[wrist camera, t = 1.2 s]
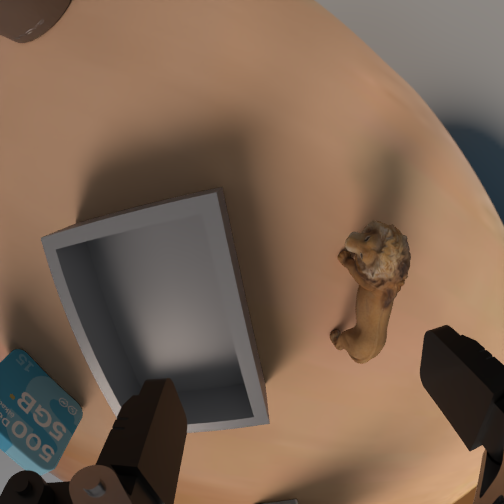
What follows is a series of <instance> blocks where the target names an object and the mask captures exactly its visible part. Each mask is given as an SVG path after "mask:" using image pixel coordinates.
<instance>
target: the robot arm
mask: <svg viewBox="0 0 504 504" xmlns="http://www.w3.org/2000/svg"><path fill="white" fill-rule="evenodd" d="M69 3H70V0H0V35H2V36H4V37H6V38H8V39H11V40H13V41H15V42H18V43H26V42H29V41H32V40H34V39H36V38H38V37H39V36H41V35H42V34H44V33H45V32H46V31H47V30H49V29H50V28H51V27H52V26H53V25H54V24H55V23H56V22H57V21H58V20H59V18H60V17H61V16H62V14H63V13H64V12H65V10H66V8H67V7H68V5H69ZM420 378H421V381H422V384H423V386H424V388H425V389H426V390H427V392H428V393H429V395H430V396H431V397H432V399H433V400H434V401H435V403H436V404H437V405H438V407H439V408H440V410H441V411H442V412H443V414H444V415H445V417H446V418H447V419H448V421H449V422H450V424H451V425H452V426H453V428H454V429H455V431H456V432H457V434H458V435H459V437H460V438H461V439H462V441H463V442H464V444H465V445H466V447H467V448H468V450H469V451H472V450H474V449H476V448H477V447H479V446H481V445H483V446H484V448H485V451H484V453H483V456H482V462H481V468H480V474H479V479H478V484H477V489H476V494H475V498H474V502H473V504H504V365H503V364H502V363H501V362H500V361H498V360H497V359H496V358H495V357H492V354H491V353H489V352H488V351H487V350H485V348H484V347H483V346H481V345H480V344H479V343H478V342H477V341H476V340H473V339H471V338H469V337H466V336H464V335H461V336H460V335H459V334H458V333H457V332H456V331H455V330H454V329H452V328H451V327H450V326H448V325H445V326H442V327H438V328H435V329H432V330H429V331H427V332H426V333H425V335H424V342H423V350H422V358H421V366H420ZM186 435H187V418H186V414H185V412H184V409H183V407H182V404H181V402H180V399H179V396H178V394H177V391H176V389H175V386H174V384H173V381H172V380H171V379H170V378H161V379H147V380H145V382H144V384H143V386H142V389H141V391H140V393H139V395H133V396H132V397H131V398H130V399H128V400H127V401H126V402H125V403H124V404H123V405H122V407H121V409H120V411H119V414H118V416H117V420H115V422H114V424H113V429H111V431H110V433H109V435H108V438H107V440H106V442H105V444H104V447H103V449H102V451H101V453H100V456H99V458H98V460H97V463H96V465H92V466H88V467H85V468H83V469H81V470H79V471H78V472H77V473H76V474H75V475H74V476H73V477H72V479H71V481H68V482H55V483H46V482H45V481H44V479H43V478H42V477H41V476H40V475H39V474H38V473H36V472H34V471H30V470H25V471H21V472H18V473H16V474H15V475H13V476H12V477H11V478H10V479H9V480H8V482H7V484H6V486H5V488H4V490H3V492H2V494H1V496H0V504H174V498H175V493H176V487H177V482H178V476H179V471H180V466H181V460H182V455H183V450H184V445H185V440H186Z"/></svg>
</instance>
